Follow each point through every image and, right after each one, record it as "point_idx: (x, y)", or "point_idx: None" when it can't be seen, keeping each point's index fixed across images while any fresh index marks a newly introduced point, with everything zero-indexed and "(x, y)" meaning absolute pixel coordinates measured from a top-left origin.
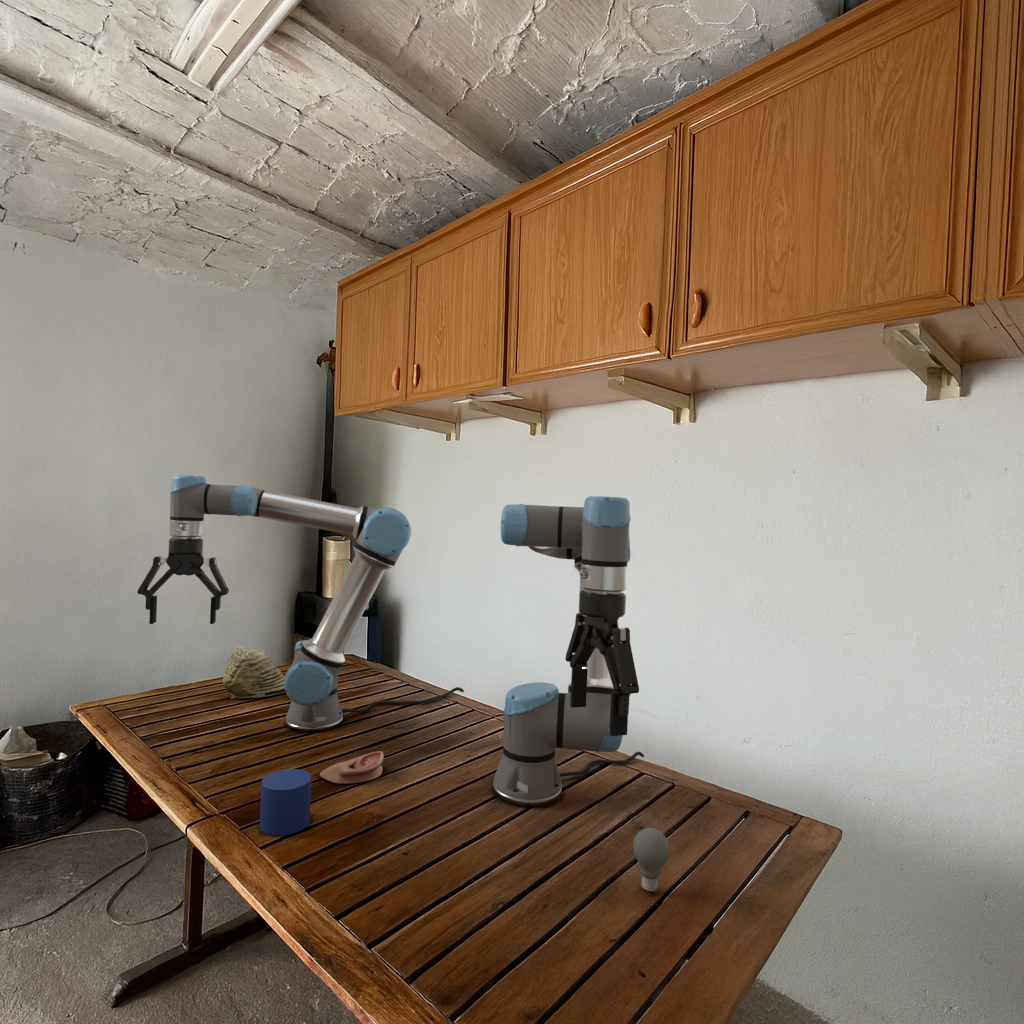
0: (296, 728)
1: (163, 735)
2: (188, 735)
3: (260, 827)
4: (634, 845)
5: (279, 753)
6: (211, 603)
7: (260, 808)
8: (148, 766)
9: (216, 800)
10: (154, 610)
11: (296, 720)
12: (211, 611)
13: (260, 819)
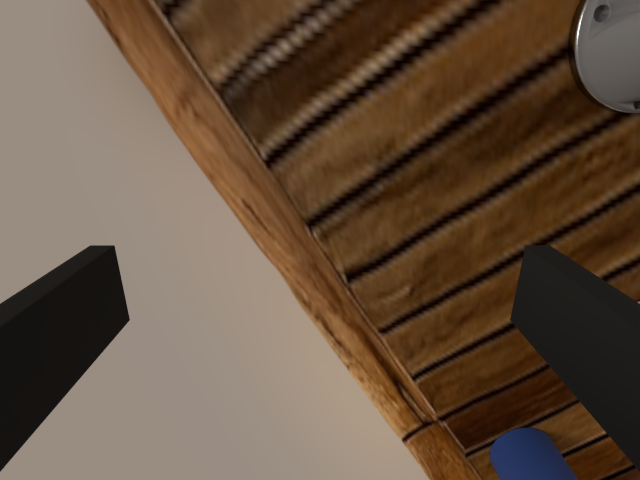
0: (593, 99)
1: (268, 84)
2: (327, 92)
3: (491, 461)
4: None
5: (533, 229)
6: (632, 454)
7: (500, 478)
8: (293, 259)
9: (429, 388)
10: (64, 355)
11: (607, 94)
12: (575, 385)
13: (495, 469)
